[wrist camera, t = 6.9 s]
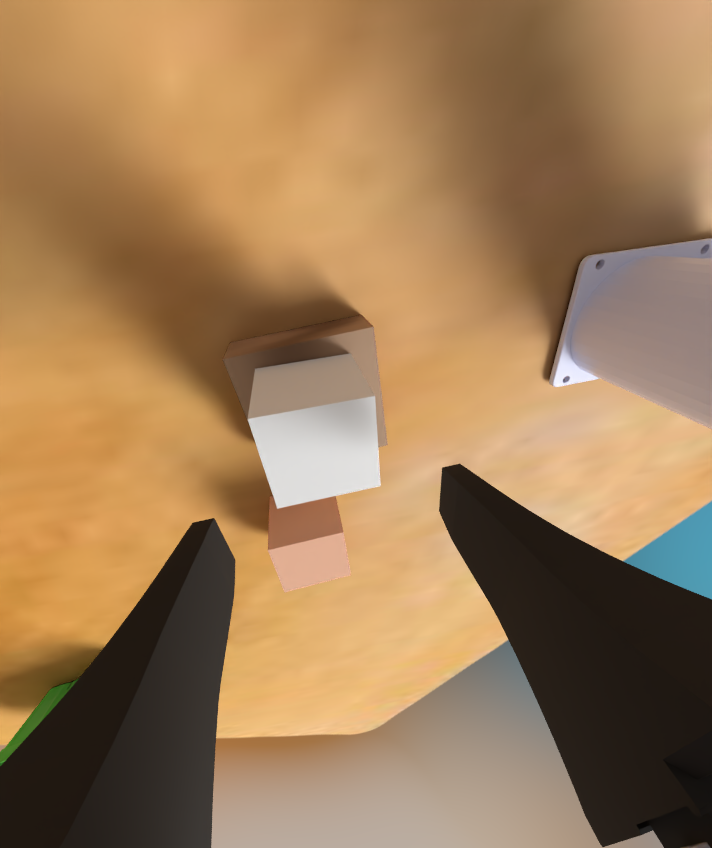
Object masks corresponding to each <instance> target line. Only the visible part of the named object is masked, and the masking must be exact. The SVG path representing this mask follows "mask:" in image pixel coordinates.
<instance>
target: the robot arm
mask: <svg viewBox="0 0 712 848" xmlns="http://www.w3.org/2000/svg"><path fill="white" fill-rule="evenodd" d="M597 262H598V265H597V267H596V264H597ZM596 379H602V380H605V381H607V382H609V383H611V384H613V385H616V386H618V387H620V388H622V389H624V390H627V391H629V392H631V393H633V394H635V395H638V396H640V397H642V398H644V399H646V400H649V401H651V402H653V403H655V404H657V405H660V406H662V407H664V408H666V409H668V410H670V411H673V412H675V413H677V414H679V415H681V416H684V417H686V418H688V419H690V420H692V421H695V422H697V423H699V424H701V425H703V426H706V427H708V428H710V429H712V238H708V239H701V240H694V241H687V242H680V243H673V244H666V245H658V246H651V247H644V248H637V249H630V250H623V251H616V252H609V253H601V254H594V255H589V256H586V257H585V258H584V259H583V260H582V261H581V263H580V266H579V269H578V273H577V277H576V280H575V284H574V288H573V292H572V296H571V300H570V303H569V307H568V311H567V315H566V319H565V322H564V326H563V330H562V334H561V338H560V342H559V345H558V349H557V353H556V357H555V361H554V364H553V368H552V372H551V376H550V380H549V383H550V384H551V385H552V386H554V387H560V386H565V385H570V384H575V383H580V382H585V381H590V380H596ZM439 512H440V514H441V516H442V519H443V521H444V523H445V526H446V528H447V530H448V532H449V534H450V537H451V539H452V541H453V542H454V544H455V546H456V548H457V549H458V551H459V553H460V554H461V556H462V558H463V559H464V561H465V563H466V564H467V566H468V568H469V569H470V571H471V573H472V574H473V576H474V578H475V579H476V581H477V583H478V584H479V586H480V588H481V589H482V591H483V593H484V594H485V596H486V598H487V599H488V601H489V603H490V605H491V606H492V608H493V610H494V612H495V614H496V615H497V617H498V619H499V621H500V623H501V625H502V627H503V629H504V631H505V633H506V635H507V637H508V639H509V641H510V644H511V646H512V647H513V650H514V652H515V653H516V656H517V658H518V660H519V662H520V664H521V667H522V669H523V671H524V673H525V675H526V677H527V679H528V682H529V684H530V686H531V688H532V690H533V693H534V695H535V697H536V699H537V701H538V704H539V706H540V708H541V710H542V713H543V715H544V717H545V720H546V722H547V724H548V727H549V729H550V731H551V733H552V736H553V738H554V740H555V743H556V745H557V747H558V750H559V752H560V754H561V757H562V759H563V762H564V764H565V767H566V769H567V771H568V774H569V776H570V779H571V781H572V784H573V786H574V788H575V791H576V793H577V796H578V798H579V801H580V804H581V806H582V809H583V811H584V814H585V816H586V818H587V820H588V822H589V823H590V825H591V827H592V829H593V831H594V833H595V835H596V837H597V839H598V841H599V843H600V844H601V845H602V847H605V846H608V845H611V844H614V843H617V842H620V841H624V840H627V839H630V838H633V837H636V836H640V835H642V834H645V833H647V832H650V831H652V830H653V831H654V832H655V834H656V835H657V837H658V839H659V840H660V842H661V843H662V845H663V847H664V848H712V600H711V599H709V598H707V597H704V596H701V595H699V594H697V593H694V592H691V591H689V590H686V589H684V588H682V587H679V586H677V585H674V584H672V583H670V582H667V581H665V580H663V579H660V578H658V577H656V576H654V575H651V574H649V573H647V572H645V571H642V570H640V569H638V568H636V567H634V566H631V565H629V564H627V563H625V562H623V561H621V560H619V559H617V558H615V557H613V556H610V555H608V554H606V553H604V552H602V551H600V550H599V549H597V548H595V547H593V546H591V545H589V544H587V543H585V542H583V541H581V540H579V539H577V538H575V537H574V536H572V535H570V534H568V533H566V532H565V531H563V530H561V529H559V528H558V527H556V526H554V525H552V524H551V523H549V522H547V521H546V520H544V519H542V518H541V517H539V516H537V515H536V514H534V513H532V512H531V511H529V510H528V509H526V508H524V507H523V506H521V505H520V504H518V503H517V502H515V501H514V500H512V499H511V498H509V497H508V496H506V495H505V494H503V493H502V492H500V491H499V490H497V489H496V488H494V487H493V486H491V485H490V484H488V483H487V482H486V481H484V480H483V479H481V478H480V477H478V476H477V475H475V474H474V473H473V472H471V471H470V470H468V469H467V468H465V467H464V466H462V465H461V464H457V465H452V466H448V467H443V468H442V479H441V493H440V507H439ZM234 585H235V558H234V556H233V554H232V552H231V551H230V549H229V547H228V545H227V543H226V541H225V539H224V537H223V535H222V533H221V531H220V529H219V527H218V525H217V523H216V521H215V519H214V518H212V519H208V520H203V521H199V522H194V523H192V525H191V526H190V528H189V529H188V530H187V532H186V533H185V535H184V536H183V538H182V539H181V541H180V542H179V544H178V545H177V547H176V548H175V550H174V551H173V553H172V554H171V556H170V557H169V559H168V560H167V562H166V563H165V565H164V566H163V568H162V569H161V571H160V572H159V573H158V575H157V576H156V578H155V579H154V581H153V582H152V583H151V585H150V586H149V588H148V589H147V591H146V592H145V593H144V595H143V596H142V598H141V599H140V601H139V602H138V603H137V605H136V606H135V607H134V609H133V610H132V611H131V613H130V614H129V615H128V617H127V618H126V619H125V621H124V622H123V623H122V625H121V626H120V627H119V629H118V630H117V631H116V633H115V634H114V635H113V637H112V638H111V639H110V641H109V642H108V643H107V644H106V646H105V647H104V648H103V650H102V651H101V652H100V653H99V655H98V656H97V657H96V658H95V660H94V661H93V662H92V663H91V664H90V666H89V667H88V668H87V669H86V671H85V672H84V673H83V674H82V675H81V677H80V678H79V679H78V680H77V681H76V682H75V684H74V685H73V686H72V687H71V688H70V690H69V691H68V692H67V693H66V694H65V696H64V697H63V698H62V699H61V700H60V701H59V702H58V704H57V705H56V706H55V707H54V708H53V709H52V710H51V711H50V713H49V714H48V715H47V716H46V717H45V718H44V719H43V720H42V721H41V722H40V723H39V725H38V726H37V727H36V728H35V729H34V730H33V731H32V732H31V733H30V734H29V735H28V737H27V738H26V739H25V740H24V741H23V742H22V743H21V744H20V745H19V746H18V748H17V749H16V750H15V751H14V752H13V753H12V754H11V755H10V756H9V757H8V758H7V760H6V761H5V762H4V763H3V764H2V765H1V766H0V848H211V834H212V802H213V781H214V761H215V743H216V729H217V715H218V701H219V693H220V684H221V677H222V671H223V664H224V658H225V651H226V645H227V639H228V632H229V626H230V619H231V612H232V606H233V599H234Z"/></svg>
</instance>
